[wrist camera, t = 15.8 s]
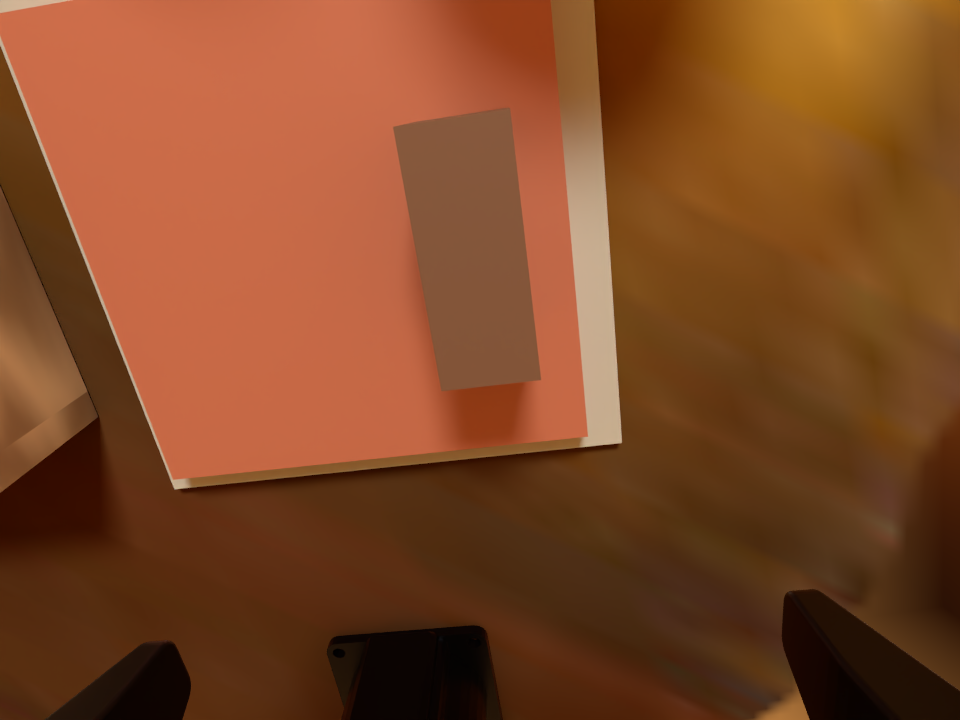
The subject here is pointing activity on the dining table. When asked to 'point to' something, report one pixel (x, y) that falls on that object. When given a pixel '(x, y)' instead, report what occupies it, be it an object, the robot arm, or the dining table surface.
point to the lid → (318, 219)
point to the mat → (587, 239)
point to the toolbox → (32, 365)
